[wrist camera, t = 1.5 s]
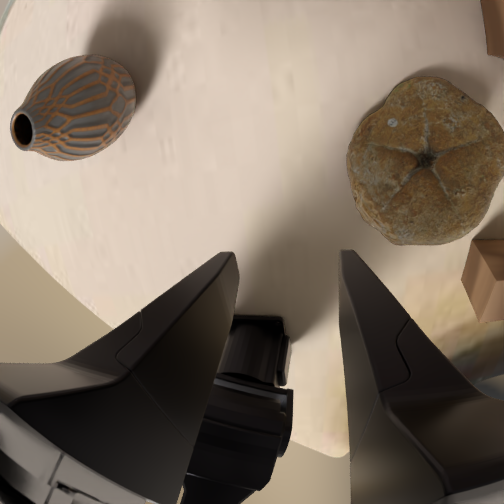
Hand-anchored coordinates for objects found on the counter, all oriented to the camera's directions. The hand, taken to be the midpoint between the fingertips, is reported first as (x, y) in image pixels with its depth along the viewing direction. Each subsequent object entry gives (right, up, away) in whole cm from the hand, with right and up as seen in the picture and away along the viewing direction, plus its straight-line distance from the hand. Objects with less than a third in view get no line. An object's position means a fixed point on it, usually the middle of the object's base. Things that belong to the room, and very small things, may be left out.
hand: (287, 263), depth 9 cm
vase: (-11, +12, +10) cm, 19 cm away
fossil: (+9, +7, +8) cm, 14 cm away
